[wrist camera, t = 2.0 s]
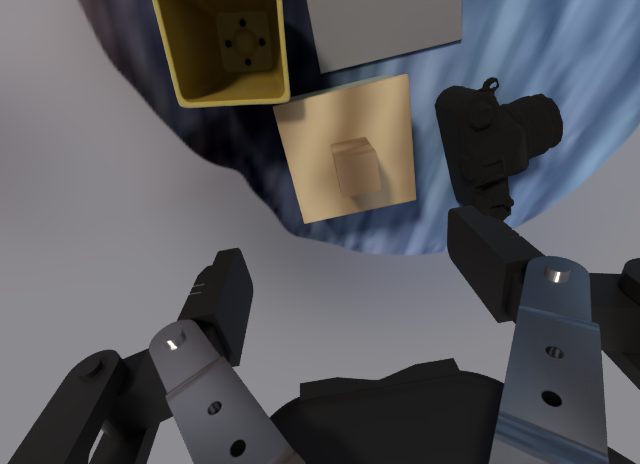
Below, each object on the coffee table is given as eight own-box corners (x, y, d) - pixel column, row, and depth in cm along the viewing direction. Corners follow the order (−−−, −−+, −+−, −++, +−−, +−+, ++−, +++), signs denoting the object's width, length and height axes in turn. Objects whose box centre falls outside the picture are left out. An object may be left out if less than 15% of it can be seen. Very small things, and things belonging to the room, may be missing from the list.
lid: (401, 73, 28) (429, 79, 22) (410, 192, 33) (434, 223, 27) (274, 103, 28) (266, 117, 22) (304, 214, 34) (304, 250, 28)
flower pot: (208, 95, 32) (178, 109, 24) (186, -12, 28) (141, -36, 20) (293, 91, 32) (291, 103, 25) (285, -16, 28) (278, -42, 20)
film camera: (529, 180, 39) (585, 212, 31) (451, 208, 40) (487, 245, 32) (519, 48, 32) (590, 47, 24) (425, 89, 33) (463, 100, 25)
